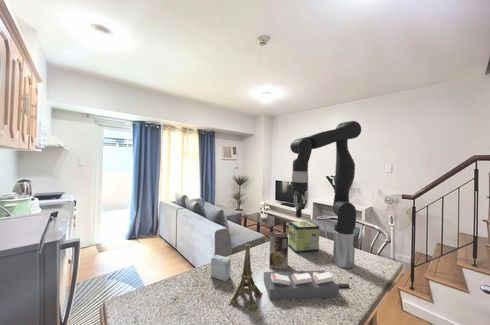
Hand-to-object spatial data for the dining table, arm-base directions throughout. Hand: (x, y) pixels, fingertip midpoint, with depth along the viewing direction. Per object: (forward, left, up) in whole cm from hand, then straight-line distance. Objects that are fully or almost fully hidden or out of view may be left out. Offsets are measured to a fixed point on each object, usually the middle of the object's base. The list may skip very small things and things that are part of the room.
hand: (298, 217), depth 96 cm
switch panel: (-1, +11, -27) cm, 29 cm away
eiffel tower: (+26, +16, -27) cm, 41 cm away
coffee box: (+7, -8, -27) cm, 29 cm away
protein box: (-14, -27, -27) cm, 41 cm away
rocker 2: (+3, +14, -21) cm, 25 cm away
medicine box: (+36, +1, -27) cm, 45 cm away
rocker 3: (-6, +14, -21) cm, 26 cm away
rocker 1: (+12, +14, -21) cm, 28 cm away
